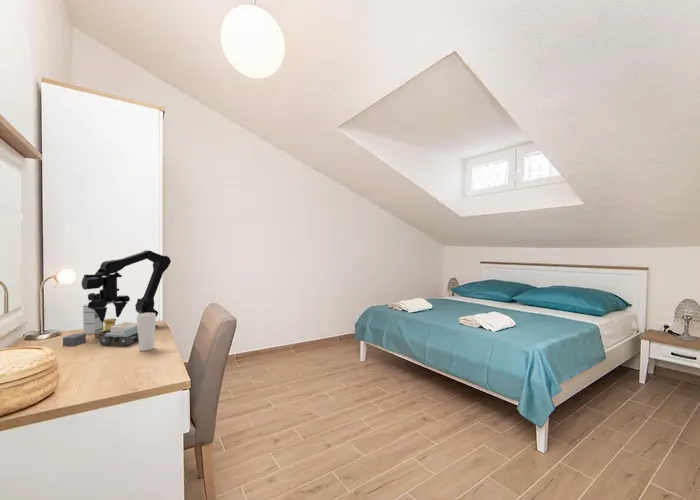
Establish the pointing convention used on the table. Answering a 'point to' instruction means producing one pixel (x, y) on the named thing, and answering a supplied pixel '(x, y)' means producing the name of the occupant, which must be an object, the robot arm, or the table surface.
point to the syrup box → (91, 321)
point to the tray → (122, 327)
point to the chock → (74, 339)
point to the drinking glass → (146, 330)
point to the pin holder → (99, 334)
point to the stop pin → (109, 324)
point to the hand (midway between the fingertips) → (110, 319)
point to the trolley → (120, 337)
